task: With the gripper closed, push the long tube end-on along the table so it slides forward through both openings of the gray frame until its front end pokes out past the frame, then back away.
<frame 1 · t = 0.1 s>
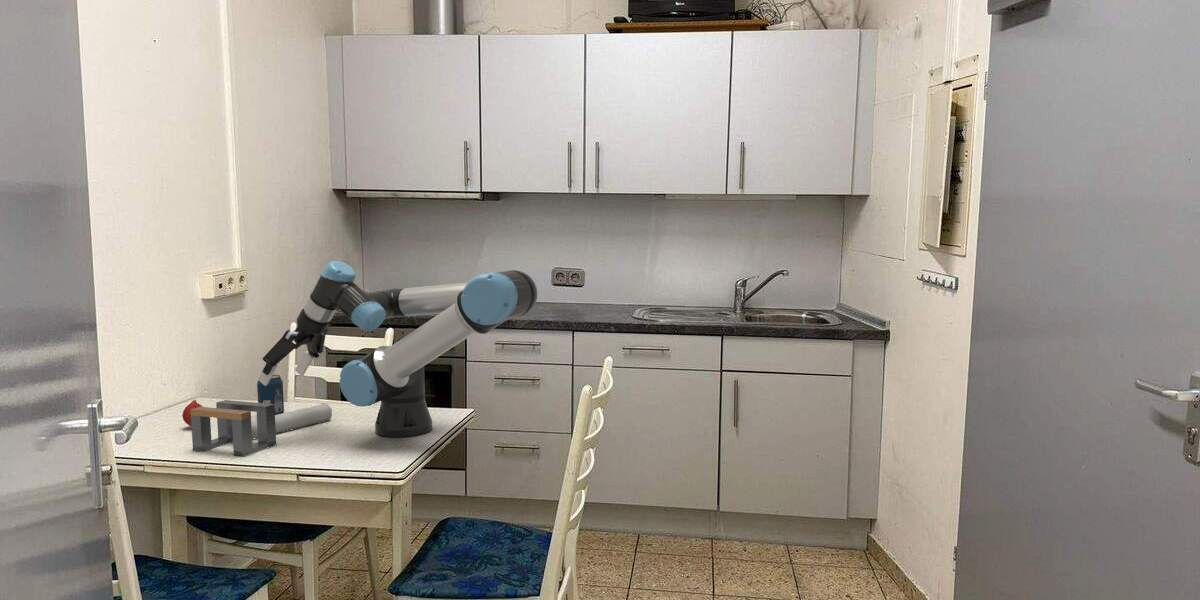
hand: (281, 377, 211), 15 cm above the table, tool tilted 35°, fingers open, 13 cm apart
gray frame: (235, 447, 199), on the table
tube: (288, 430, 217), on the table
soda can: (271, 417, 231), on the table
onion: (195, 428, 219), on the table
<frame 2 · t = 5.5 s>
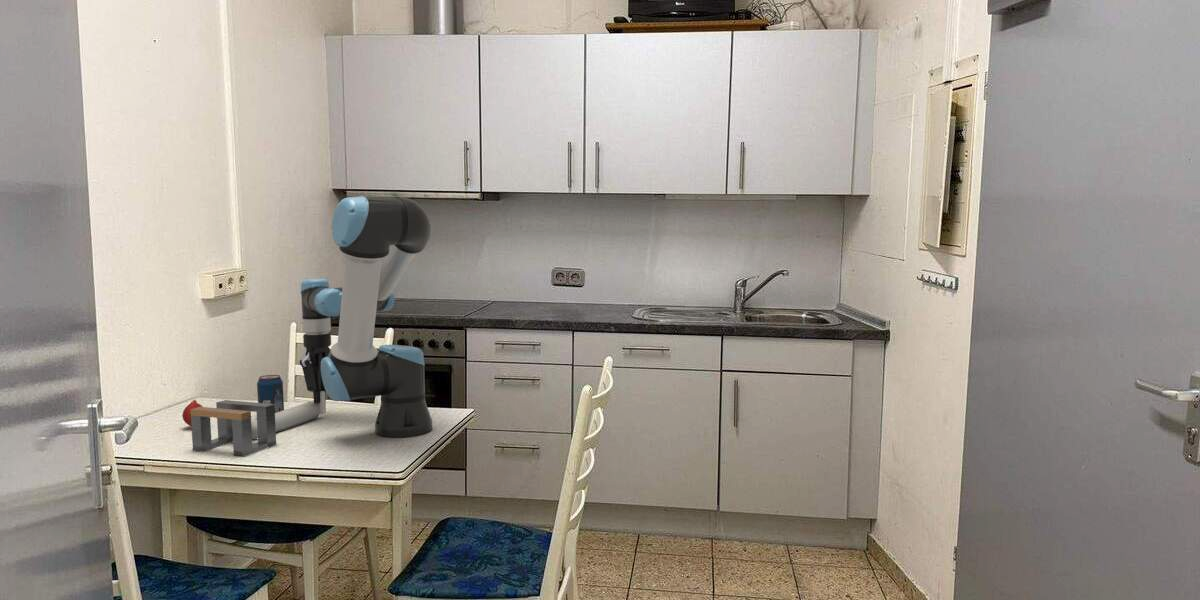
hand: (320, 413, 229), 1 cm above the table, tool pointing down, fingers closed
tube: (282, 429, 218), on the table, touching gripper
everything else where it was.
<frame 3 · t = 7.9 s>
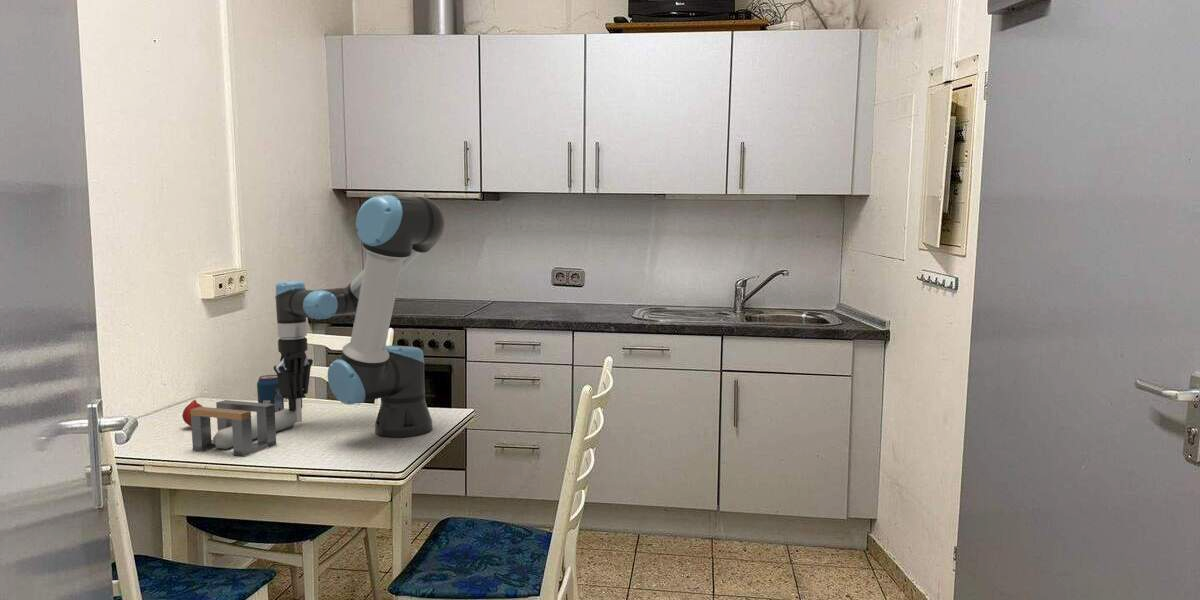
hand: (296, 421, 220), 1 cm above the table, tool pointing down, fingers closed
tube: (255, 438, 208), on the table, touching gripper
everything else where it was.
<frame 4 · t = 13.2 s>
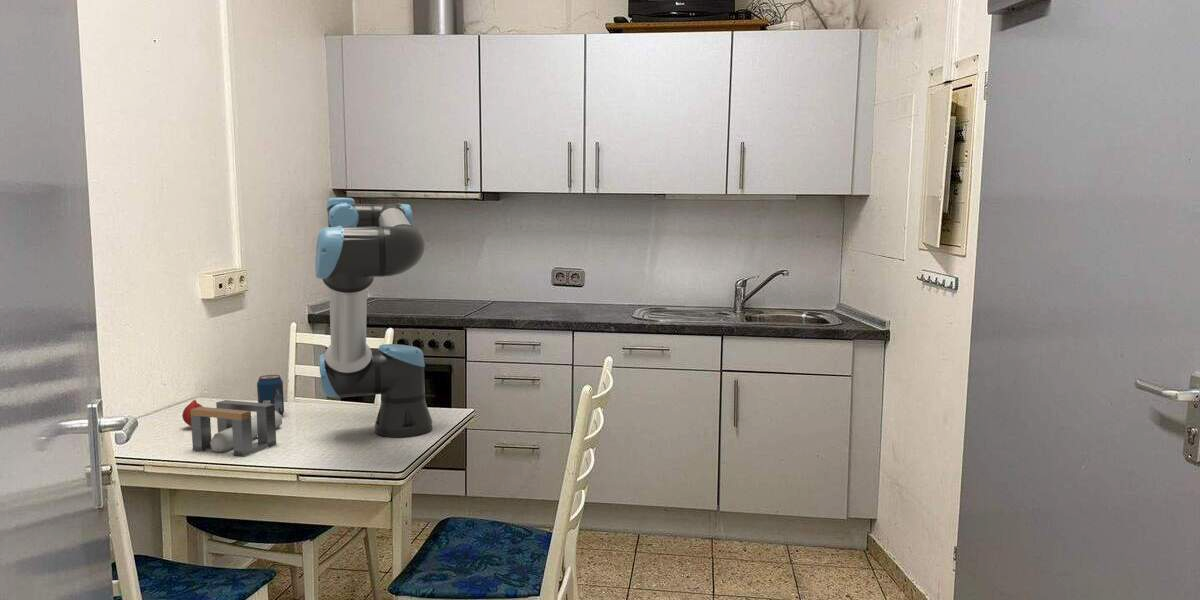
hand: (346, 334, 228), 24 cm above the table, tool pointing down, fingers closed
tube: (246, 441, 207), on the table
everything else where it was.
at the end: tube inside the target area (3.9 cm from its centre), on the table; tube moved 12.5 cm from its start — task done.
